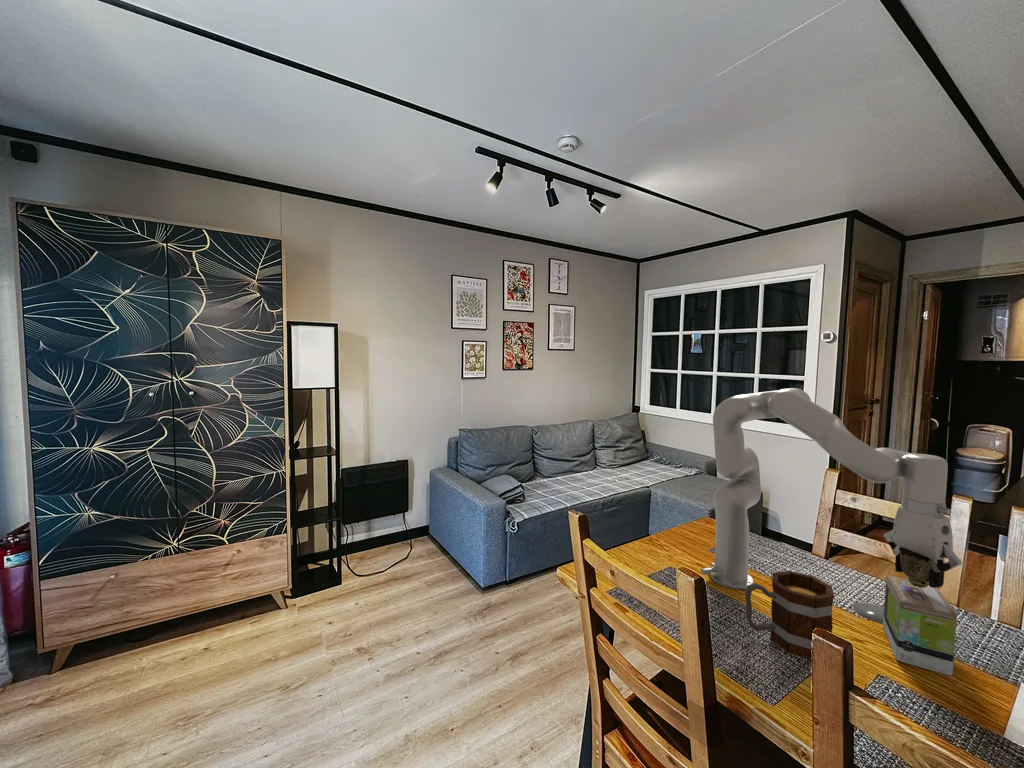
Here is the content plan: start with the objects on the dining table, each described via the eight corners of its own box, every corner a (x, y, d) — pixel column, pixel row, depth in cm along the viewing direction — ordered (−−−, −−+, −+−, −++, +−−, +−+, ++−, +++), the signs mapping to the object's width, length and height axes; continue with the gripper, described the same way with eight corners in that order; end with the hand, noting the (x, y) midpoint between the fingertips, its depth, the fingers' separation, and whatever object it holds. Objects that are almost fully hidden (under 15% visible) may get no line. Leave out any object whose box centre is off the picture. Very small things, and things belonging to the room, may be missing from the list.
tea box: (955, 678, 94) (958, 614, 93) (895, 661, 100) (898, 600, 99) (933, 640, 107) (937, 583, 106) (881, 627, 112) (884, 572, 111)
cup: (948, 595, 98) (950, 561, 98) (911, 591, 100) (913, 558, 99) (924, 578, 106) (926, 547, 105) (889, 575, 107) (891, 544, 106)
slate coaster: (879, 628, 112) (880, 626, 112) (843, 606, 122) (843, 604, 122) (910, 623, 114) (910, 621, 114) (872, 602, 124) (872, 600, 124)
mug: (815, 628, 112) (817, 572, 111) (846, 664, 99) (848, 601, 98) (735, 620, 115) (736, 566, 114) (754, 654, 102) (756, 594, 101)
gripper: (980, 518, 94) (975, 597, 95) (896, 494, 111) (892, 560, 112) (954, 521, 92) (948, 600, 93) (872, 495, 109) (868, 563, 110)
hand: (918, 578), depth 103 cm, fingers closed on cup, 6 cm apart
